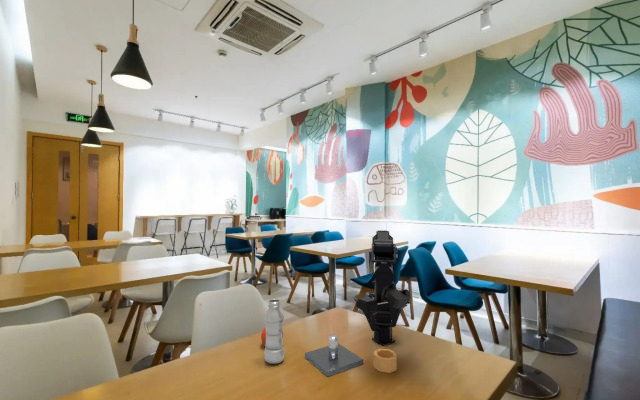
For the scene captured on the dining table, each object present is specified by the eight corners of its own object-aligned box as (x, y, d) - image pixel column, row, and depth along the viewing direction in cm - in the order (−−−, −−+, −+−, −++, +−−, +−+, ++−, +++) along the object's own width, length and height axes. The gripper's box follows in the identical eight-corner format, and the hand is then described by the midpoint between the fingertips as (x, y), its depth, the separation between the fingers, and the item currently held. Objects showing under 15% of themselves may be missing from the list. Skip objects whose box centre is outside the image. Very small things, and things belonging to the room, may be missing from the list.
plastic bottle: (280, 367, 94) (280, 304, 95) (260, 365, 96) (261, 303, 96) (286, 357, 101) (287, 298, 101) (268, 356, 102) (268, 297, 103)
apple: (286, 347, 109) (286, 325, 109) (266, 353, 104) (266, 330, 104) (277, 339, 115) (277, 318, 115) (257, 344, 111) (257, 323, 111)
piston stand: (338, 347, 108) (337, 325, 109) (363, 364, 97) (363, 339, 97) (304, 357, 101) (304, 333, 101) (327, 376, 89) (327, 350, 89)
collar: (385, 358, 100) (385, 346, 100) (401, 368, 94) (401, 355, 94) (369, 364, 96) (369, 352, 96) (385, 374, 90) (385, 361, 90)
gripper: (379, 287, 85) (379, 343, 84) (423, 280, 94) (423, 330, 93) (355, 280, 94) (355, 330, 93) (397, 275, 104) (397, 320, 103)
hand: (383, 328), depth 95 cm, fingers open, 9 cm apart
